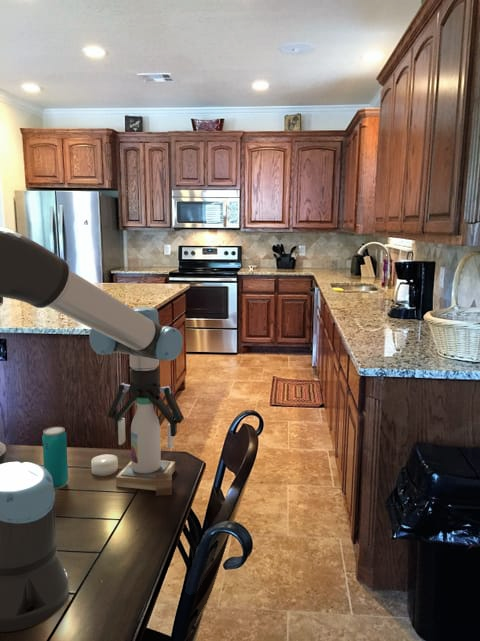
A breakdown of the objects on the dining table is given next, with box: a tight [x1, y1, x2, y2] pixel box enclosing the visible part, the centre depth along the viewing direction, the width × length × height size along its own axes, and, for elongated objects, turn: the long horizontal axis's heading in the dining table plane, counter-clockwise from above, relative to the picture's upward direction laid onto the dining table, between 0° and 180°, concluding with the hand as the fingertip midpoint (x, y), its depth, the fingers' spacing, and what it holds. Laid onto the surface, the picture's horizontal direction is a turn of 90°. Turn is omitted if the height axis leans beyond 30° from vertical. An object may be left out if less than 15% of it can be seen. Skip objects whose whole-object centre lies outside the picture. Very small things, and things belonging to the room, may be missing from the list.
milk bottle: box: [130, 397, 162, 474], centre depth 131 cm, size 8×8×20 cm
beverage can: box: [41, 426, 69, 491], centre depth 127 cm, size 6×6×15 cm
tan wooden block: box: [155, 472, 173, 497], centre depth 126 cm, size 4×4×4 cm
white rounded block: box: [90, 453, 119, 477], centre depth 137 cm, size 7×7×3 cm
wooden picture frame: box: [115, 460, 176, 491], centre depth 133 cm, size 12×12×3 cm
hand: (146, 445), depth 132 cm, fingers open, 13 cm apart
